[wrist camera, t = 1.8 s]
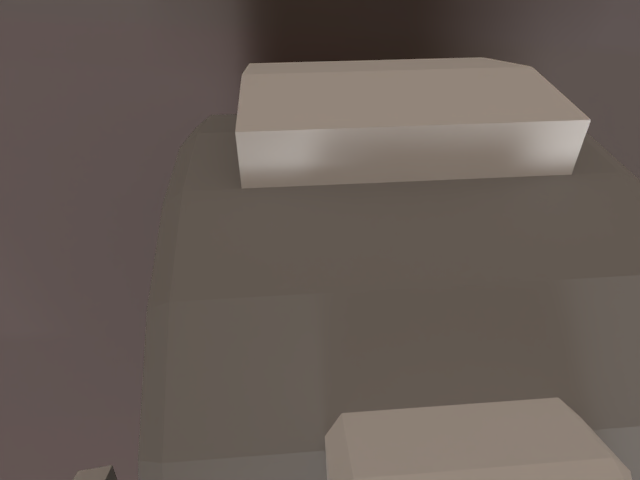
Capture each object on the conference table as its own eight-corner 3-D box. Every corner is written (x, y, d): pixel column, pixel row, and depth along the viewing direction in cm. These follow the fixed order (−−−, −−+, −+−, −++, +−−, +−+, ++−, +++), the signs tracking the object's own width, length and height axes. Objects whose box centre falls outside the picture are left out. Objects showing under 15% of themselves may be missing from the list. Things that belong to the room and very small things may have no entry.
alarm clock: (235, 79, 22) (-169, -53, 2) (419, 74, 22) (1356, -67, 3) (261, 413, 27) (207, 1224, 8) (409, 403, 27) (708, 1136, 8)
